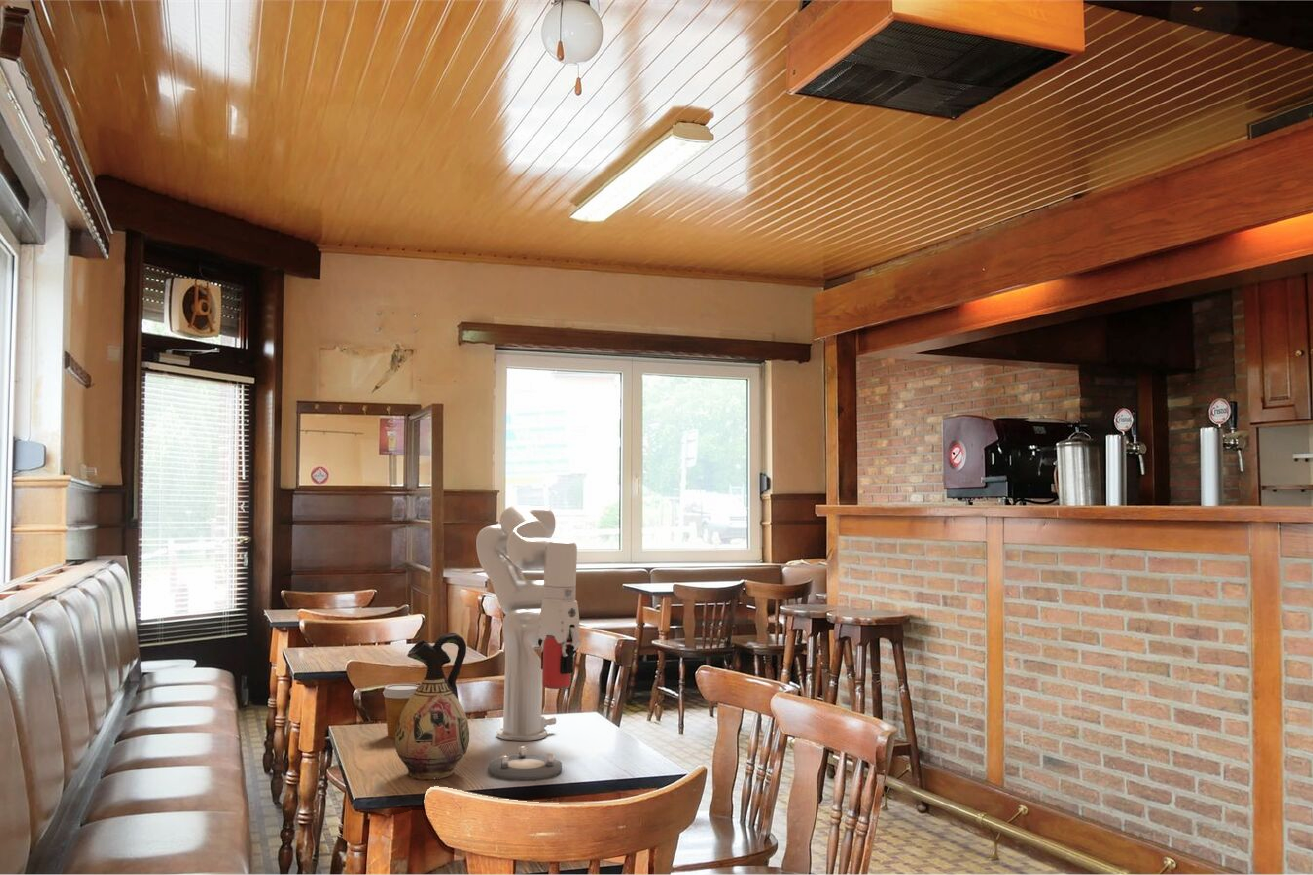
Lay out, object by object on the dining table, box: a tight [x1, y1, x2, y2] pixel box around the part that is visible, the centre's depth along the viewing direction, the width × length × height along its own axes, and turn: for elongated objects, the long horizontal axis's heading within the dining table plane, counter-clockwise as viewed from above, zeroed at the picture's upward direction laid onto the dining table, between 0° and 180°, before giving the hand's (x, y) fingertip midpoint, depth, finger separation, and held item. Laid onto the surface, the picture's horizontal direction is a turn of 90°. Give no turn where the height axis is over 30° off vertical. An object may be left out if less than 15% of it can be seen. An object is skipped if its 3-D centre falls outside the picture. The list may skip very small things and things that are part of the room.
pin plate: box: [487, 754, 563, 782], centre depth 223 cm, size 16×16×2 cm
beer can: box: [542, 635, 572, 690], centre depth 239 cm, size 7×7×12 cm
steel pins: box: [500, 745, 554, 769], centre depth 222 cm, size 10×11×2 cm
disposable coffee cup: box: [382, 683, 420, 739], centre depth 256 cm, size 10×10×12 cm
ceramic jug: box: [394, 632, 470, 780], centre depth 220 cm, size 17×15×30 cm
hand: (556, 670), depth 239 cm, fingers closed on beer can, 6 cm apart
